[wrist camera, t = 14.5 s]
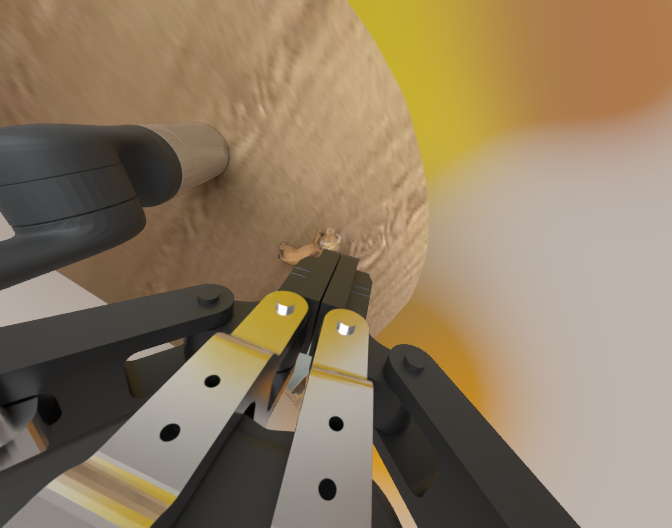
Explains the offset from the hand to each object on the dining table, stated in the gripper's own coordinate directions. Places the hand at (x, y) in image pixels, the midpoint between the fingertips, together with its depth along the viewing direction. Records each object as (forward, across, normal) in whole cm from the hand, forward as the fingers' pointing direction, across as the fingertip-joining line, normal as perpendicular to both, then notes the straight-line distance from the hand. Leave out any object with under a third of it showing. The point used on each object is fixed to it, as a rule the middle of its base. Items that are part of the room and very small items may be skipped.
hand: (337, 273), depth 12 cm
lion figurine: (+42, -10, -19) cm, 47 cm away
